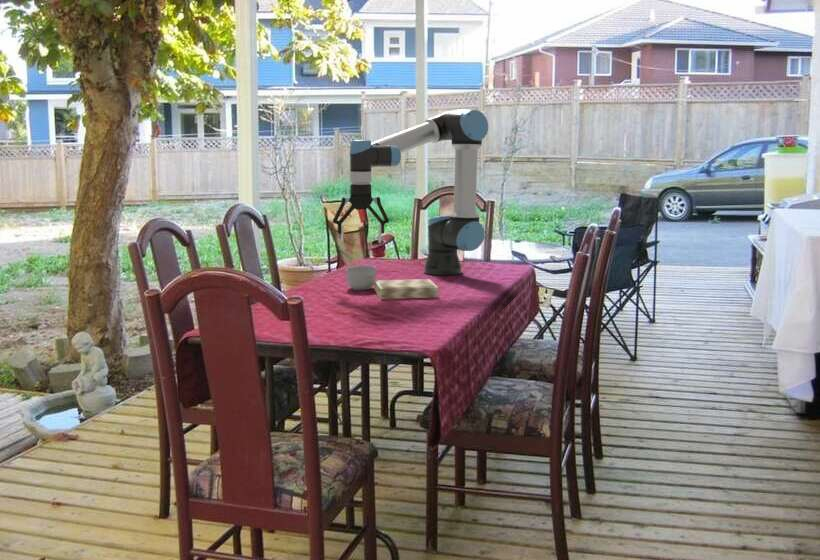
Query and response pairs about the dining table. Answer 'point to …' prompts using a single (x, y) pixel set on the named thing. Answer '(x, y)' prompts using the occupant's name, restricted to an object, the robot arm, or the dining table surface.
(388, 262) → the dining table surface
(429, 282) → the beige tray
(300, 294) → the dining table surface
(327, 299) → the dining table surface
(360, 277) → the teacup
